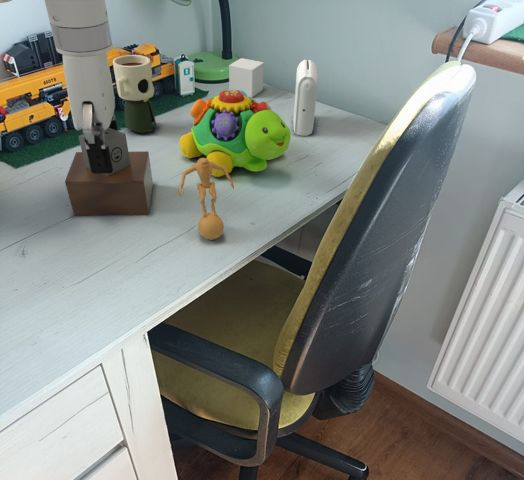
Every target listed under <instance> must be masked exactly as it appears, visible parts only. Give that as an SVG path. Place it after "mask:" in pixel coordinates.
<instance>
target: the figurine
mask: <svg viewBox="0 0 524 480" xmlns="http://www.w3.org/2000/svg"><path fill="white" fill-rule="evenodd" d="M213 168H215V169H218V170H223V172H224V174H225V175H224V176H225V177H226V179H227V180H228V181H229V183H230V187H231V188H232V190H234V189H235V185H234V181H233V180H232V178H231V176H230V175H229V174H230V173H229V174H228V173H227V171H226V169H225V168H224V167H223V166H220V165H217V164H215V163H213V162H210V161H208V160H207V157H199V158H198V160H197V161H196V163H194V164H192V165H191V166H190V167H189V168H187V169H185V170H184V171H183V172H182V175H181V180H180V184H179V187H178V188H179V189H178V195H179V196H180V197H182V196H183V193H184V190H183V188H184V185H185V181H186V176H187V175H190V174H191V173H193V172H195V171H196V173H197V175H198V177H199V179H200V182H198V183H197V184H196V187H197V190H198V197H199V199H200V204H201V208H202V212H203V213H202V214H203V215H202V216H200V218H199V220H198V223H197V230H198V233H199V234H200V236H202V237H203V238H204V239H206V240H210V241H212V240H217V239H218V238H220V237H221V236H222V234H223V232H224V230H225V222H224V220H223V218H222V217H221V216H220V215H218V213H217V212H216V207H215V203H216V202H217V199H218V195H217V190H216V182H215V181H214V180H212V181H211V177H212V175H211V174H212V169H213ZM206 190H208V194H209V195H210V196H211V197H212V198H211V199H210V203H211V205H210V206H211V212H207V208H206V207H207V206H206V201H205V199H206V196H207V191H206Z"/></svg>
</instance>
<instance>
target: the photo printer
mask: <svg viewBox="0 0 524 480" xmlns="http://www.w3.org/2000/svg"><path fill="white" fill-rule="evenodd" d="M318 73H319V72H318V68H317V65H316V63H315V62H314V61H313V60H312V59H309V60H307V59H303V60H302V61H301V62H300V63H299V64H298V66H297V68H296V73H295V74H296V75H295V91H294V105H293V121H292V124H293V132H294V134H296V135H297V136H300V137H301V136H302V137H307V136H310V135H312V134H313V130H314V123H315V116H316V115H315V114H316V105H317V93H318V83H319V75H318Z"/></svg>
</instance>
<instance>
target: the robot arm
mask: <svg viewBox="0 0 524 480" xmlns="http://www.w3.org/2000/svg"><path fill="white" fill-rule="evenodd" d="M8 2H12V0H0V4H6V3H8ZM44 4H45V8H46V12H47V16H48V17H47V18H48V20H49V21H48V22H49V25H50V29H51V34H52V37H53V38H52V39H53V43H54V46H55V50H56V52H57V53H58V54H60V55H62V65H63V66H62V67H63V74H64V80H65V86H66V91H67V97H68V102H69V109H70V113H71V118H72V122H73V127H74V129H75V130H76V131H81V130H82V134H84V136H85V137H84V139H85V140H84V141H85V146H86V150H87V155H88V159H89V164H90V168H91V172H92V173H94V174H105V173H112V172H113V167H112V162H111V157H110V152H109V146H108V147H106V137H105V130H106V129H107V128H111V129H114V130H117V131H119V129H118V123H117V122H118V121H117V120H116V113H115V109H116V100H115V92H114V91H115V90H114V85H113V79H112V74H111V69H110V64H109V59H108V54H107V53H109V52H110V51H112V50H113V41H112V40H113V39H112V35H111V29H110V28H111V27H110V23H109V18H108V16H109V15H108V11H107V3H106V0H44ZM95 132H100V138H99V137H98V135H95Z"/></svg>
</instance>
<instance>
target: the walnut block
mask: <svg viewBox="0 0 524 480" xmlns="http://www.w3.org/2000/svg"><path fill="white" fill-rule="evenodd" d="M128 152H129V158H130V165H128V166H126V167H124V168H122V169H121V170H119V171H117V172H115V173H113V174H111V175H109V176H106V175H104V174H94V173H92V172H91V169H89V168H86V167H85V162H84V158H83V154H82V151H76V152H75V153H74V156H73V159H72V161H71V164H70V167H69V170H68V172H67V175H66V177H65V179H64V184H65V188H66V192H67V195H68V198H69V202H70V206H71V209H72V213H73V216H74V217H75V216H76V217H78V216H79V217H81V216H82V217H83V216H125V215H126V216H134V215H135V216H136V215H140V216H141V215H149V214H150V209H151V208H150V207H151V201H152V195H153V187H154V181H153V174H152V168H151V159H150V152H149V150H148V151H147V150H146V151H128Z"/></svg>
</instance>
